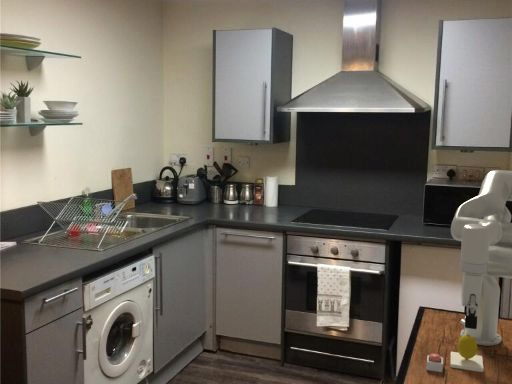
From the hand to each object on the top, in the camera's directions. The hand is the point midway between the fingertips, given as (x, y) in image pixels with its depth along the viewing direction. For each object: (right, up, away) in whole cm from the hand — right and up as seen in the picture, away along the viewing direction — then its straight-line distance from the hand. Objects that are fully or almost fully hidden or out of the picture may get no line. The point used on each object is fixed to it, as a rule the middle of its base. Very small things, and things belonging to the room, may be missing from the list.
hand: (470, 321), depth 167 cm
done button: (-11, -11, -2) cm, 16 cm away
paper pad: (-1, -13, +1) cm, 13 cm away
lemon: (-1, -12, +1) cm, 12 cm away
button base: (-11, -13, -2) cm, 17 cm away
